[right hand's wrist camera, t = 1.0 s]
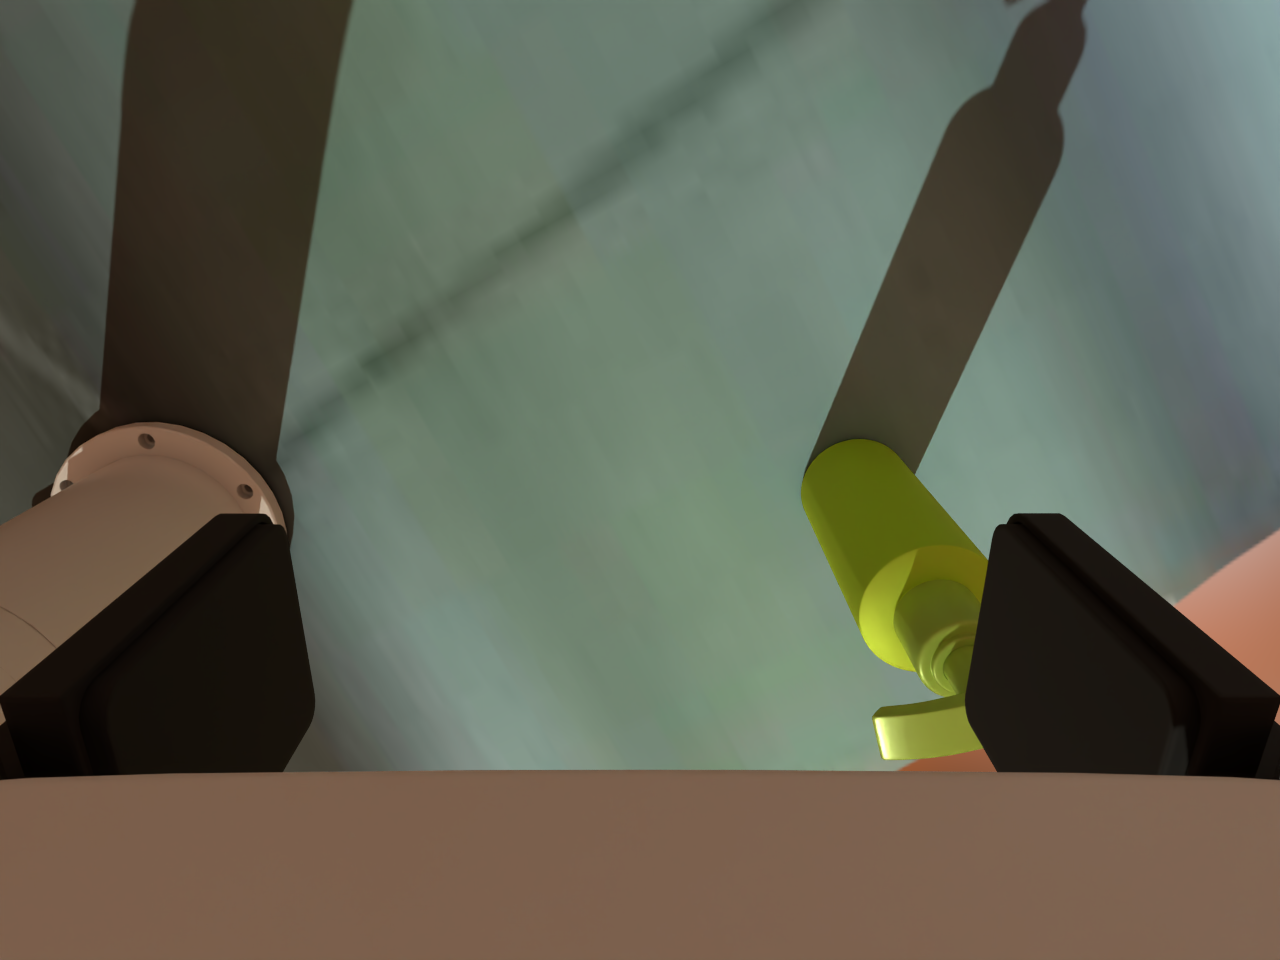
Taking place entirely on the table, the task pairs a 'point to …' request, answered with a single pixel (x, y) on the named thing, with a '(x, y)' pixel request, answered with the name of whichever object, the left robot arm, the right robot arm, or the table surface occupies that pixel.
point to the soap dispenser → (901, 587)
